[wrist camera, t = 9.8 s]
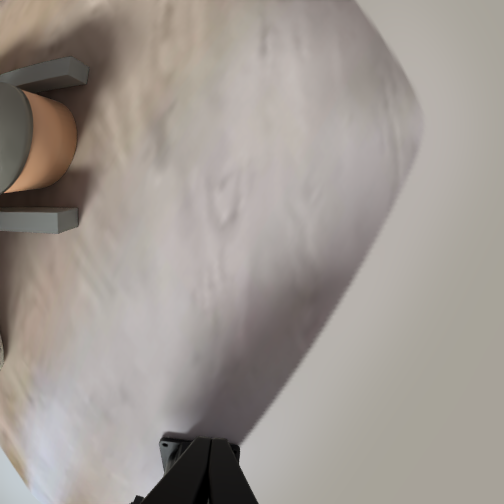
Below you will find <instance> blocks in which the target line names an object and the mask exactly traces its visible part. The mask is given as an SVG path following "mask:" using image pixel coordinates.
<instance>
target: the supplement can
mask: <svg viewBox="0 0 504 504" xmlns="http://www.w3.org/2000/svg"><path fill="white" fill-rule="evenodd" d="M3 364H4V351H3V343H2V339H1V334H0V370H1V368H2V366H3Z"/></svg>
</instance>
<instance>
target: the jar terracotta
mask: <svg viewBox="0 0 504 504" xmlns="http://www.w3.org/2000/svg"><path fill="white" fill-rule="evenodd" d="M76 144H77V128H76V123H75V120H74V117H73V115H72V113H71V112H70V110H69V109H68V108H67V107H66V106H65V105H64V104H62V103H60V102H58V101H55V100H52V99H49V98H46V97H43V96H39V95H36V94H33V93H30V92H27V91H24V90H21V89H20V88H18V87H16V86H14V85H10V84H7V83H3V82H0V194H2V193H8V192H15V191H23V190H31V189H39V188H45V187H48V186H50V185H52V184H54V183H55V182H57V181H58V180H59V179H60V178H61V177H62V176H63V175H64V173H65V172H66V171H67V169H68V167H69V166H70V164H71V161H72V159H73V156H74V153H75V149H76Z"/></svg>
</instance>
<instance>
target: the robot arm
mask: <svg viewBox="0 0 504 504" xmlns="http://www.w3.org/2000/svg"><path fill="white" fill-rule="evenodd" d="M165 443H166V444H165ZM159 446H160V452H161V457H162V463H163V468H164V476H163V478H162V479H161V480H160V481H159V482H158V484H157V485H156V486H155V487H154V488H153V489H152V490H151V492H150V493H149V494H148V495H147V496H146V497H145V498H144V497H142V496H138V495H136V497H135V499H134V502H131V504H258V502H257V500H256V498H255V496H254V494H253V492H252V490H251V488H250V486H249V484H248V482H247V480H246V478H245V476H244V474H243V472H242V470H241V468H240V466H239V458H240V447H239V446H237V445H230V444H229V442H228V440H227V439H225V438H213V439H211V438H210V437H202V436H198V437H196V438H195V439H194V441H185V440H177V439H170V438H161V439H160V442H159Z"/></svg>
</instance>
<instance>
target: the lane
mask: <svg viewBox="0 0 504 504" xmlns="http://www.w3.org/2000/svg"><path fill="white" fill-rule="evenodd" d="M88 72H89V67H88V66H87V65H85V64H84V63H82V62H80V61H79V60H77V59H75V58H74V57H72V56H69V57H64V58H59V59H55V60H51V61H46V62H42V63H38V64H34V65H31V66H27V67H24V68H20V69H17V70H13V71H10V72H7V73H4V74H1V75H0V82H3V83H7V84H10V85H14V86H16V87H18V88H20V89H21V90H24V91H27V92H30V93H38V92H43V91H48V90H53V89H58V88H64V87H70V86H77V85H84V84H87V78H88ZM76 227H78V208H52V207H0V231H14V232H34V233H52V234H59V233H62V232H64V231H67V230H70V229H73V228H76Z"/></svg>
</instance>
